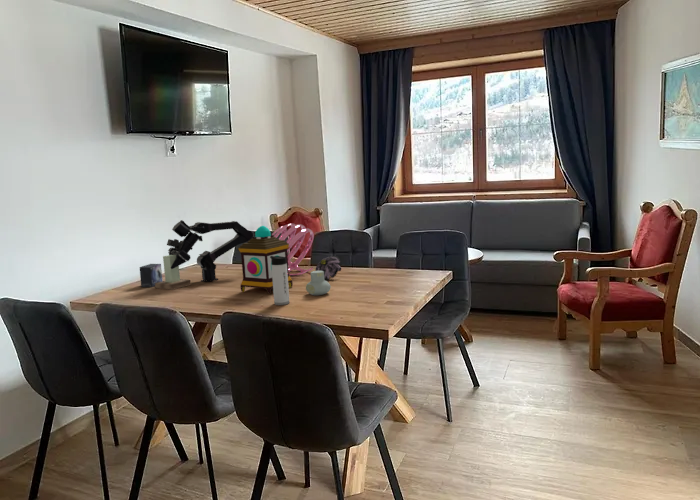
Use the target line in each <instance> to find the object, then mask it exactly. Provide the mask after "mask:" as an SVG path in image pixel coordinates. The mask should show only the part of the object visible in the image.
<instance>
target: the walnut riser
mask: <svg viewBox="0 0 700 500" xmlns="http://www.w3.org/2000/svg"><path fill="white" fill-rule="evenodd" d="M191 285H192V284H191V279H184V278H180V281H177V282H173V283H170V282H166V281H165V280H162V282H158V283H155V286H154V287H155V289H161V290H162V289H163V290H170V291H173V290H176V289H177V290H178V289H180V288H183V287H188V286H191Z"/></svg>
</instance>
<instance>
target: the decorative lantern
mask: <svg viewBox="0 0 700 500" xmlns="http://www.w3.org/2000/svg"><path fill="white" fill-rule="evenodd" d="M254 235H255V236H253V238H252V239H250V241H248V242H245V243H242V244H240V246H239V247H237V248H238V251H239V252H240V257H241V269H242V271H241V272H242V280H241V283H240V292H241V293H244V292H245V289H246V288H256V289H264V290H266V292H267V295H269V296H270V295H271V293H272V289H273V279H272V265H271V263H272V262H271V258H270V256H282V257H286V262H287V274H288V288H292V287H293V284H294V283H293V279H292V278H291V277H292V276H289V274H290V272H289V269H288V267H289V266H288V253H287V249H288V247H289V244H288V243H287V242H286V240H279V238H278V237H277V238H276V237H274V236H275V234H274V235H272V233H271V230H270V228H268V227H267V226H265V225H261V226H259V227H258V228H256V230H255V234H254Z"/></svg>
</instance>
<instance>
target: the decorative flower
mask: <svg viewBox="0 0 700 500" xmlns="http://www.w3.org/2000/svg"><path fill="white" fill-rule="evenodd" d="M339 263H342V261H341V258H339V257H338V256H335V255H334V256H328V257H324V258H323V259H321V260H320V261H319V262H318V263H317V265H316V267H315V270H314V271H323V272H324V280H325V281H327V282H329V280H330V277H331V278H333V279H334V278H335V277H336V276H337V275H338V272H341V271H342V267H341V266H340V265H339Z"/></svg>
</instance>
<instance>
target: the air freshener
mask: <svg viewBox="0 0 700 500" xmlns="http://www.w3.org/2000/svg"><path fill="white" fill-rule="evenodd" d="M331 288H332V287H331V284H330V283H329V281H325V280H324V272H323V271H315V270H313V271H312V270H311V271H310V281H309V282H307V284H306V285H305V290H306V292H307V293H308V294H309V295H311V296H323V295H326V294H327V293H329V292H330V290H331Z"/></svg>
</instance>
